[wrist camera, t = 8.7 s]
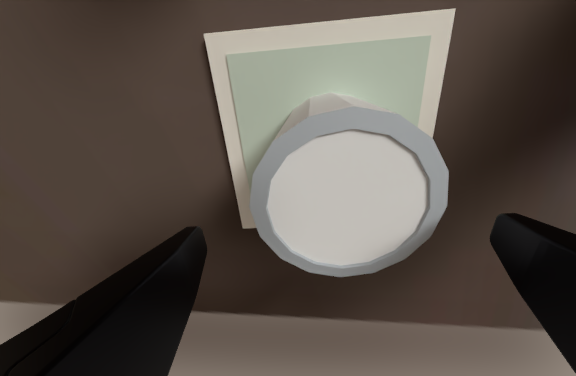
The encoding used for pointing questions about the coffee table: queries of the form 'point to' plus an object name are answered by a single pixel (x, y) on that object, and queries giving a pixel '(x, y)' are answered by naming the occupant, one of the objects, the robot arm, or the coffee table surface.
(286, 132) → the white-topped cylinder
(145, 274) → the robot arm
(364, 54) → the plate
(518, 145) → the coffee table surface
